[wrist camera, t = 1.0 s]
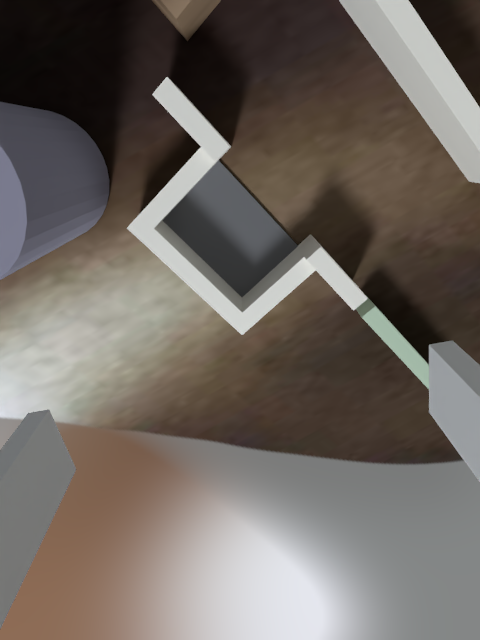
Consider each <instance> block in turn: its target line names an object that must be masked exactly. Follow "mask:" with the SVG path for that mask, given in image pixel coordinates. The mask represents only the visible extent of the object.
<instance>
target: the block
mask: <svg viewBox="0 0 480 640" xmlns="http://www.w3.org/2000/svg"><path fill="white" fill-rule="evenodd" d="M152 1H153V2H154V3H155V5H156V6H157V7H158V8H159V9H160V10H161V11H162V13H163V14H164V15H165V16H166V17H167V18H168V20H169V21H170V22H171V23H172V24H173V25H174V26H175V28H176V29H177V30H178V31H179V32H180V33H181V35H182V36H183V37H184V38H185V39H186V40H187V41H188V40H189V39H190V38H191V36H192V35H193V34H194V33H195V32H196V30H197V29H198V28H199V27H200V25H201V24H202V23H203V22H204V21H205V19H206V18H207V17H208V16H209V14H210V13H211V12H212V11H213V10H214V8H215V7H216V6H217V5H218V3H219V2H220V1H221V0H152Z"/></svg>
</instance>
